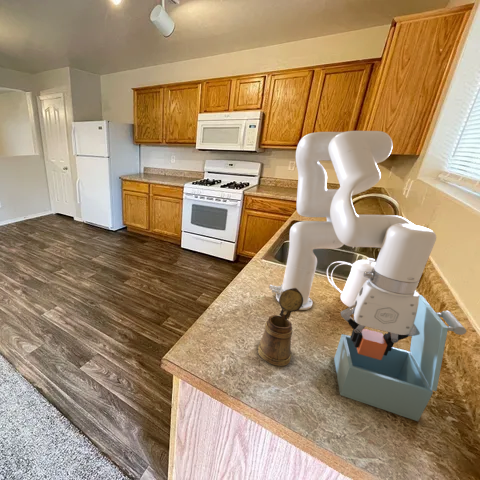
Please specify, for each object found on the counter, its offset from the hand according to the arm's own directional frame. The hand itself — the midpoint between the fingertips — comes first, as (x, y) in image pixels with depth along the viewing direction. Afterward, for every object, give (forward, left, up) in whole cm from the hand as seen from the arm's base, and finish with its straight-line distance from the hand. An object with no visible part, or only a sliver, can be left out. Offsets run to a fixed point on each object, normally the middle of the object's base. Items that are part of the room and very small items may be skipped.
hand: (368, 346), depth 63 cm
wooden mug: (-19, +3, -11) cm, 22 cm away
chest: (+3, 0, -11) cm, 12 cm away
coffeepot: (+7, +41, -11) cm, 43 cm away
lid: (+9, 0, +6) cm, 10 cm away
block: (0, 0, -1) cm, 1 cm away
